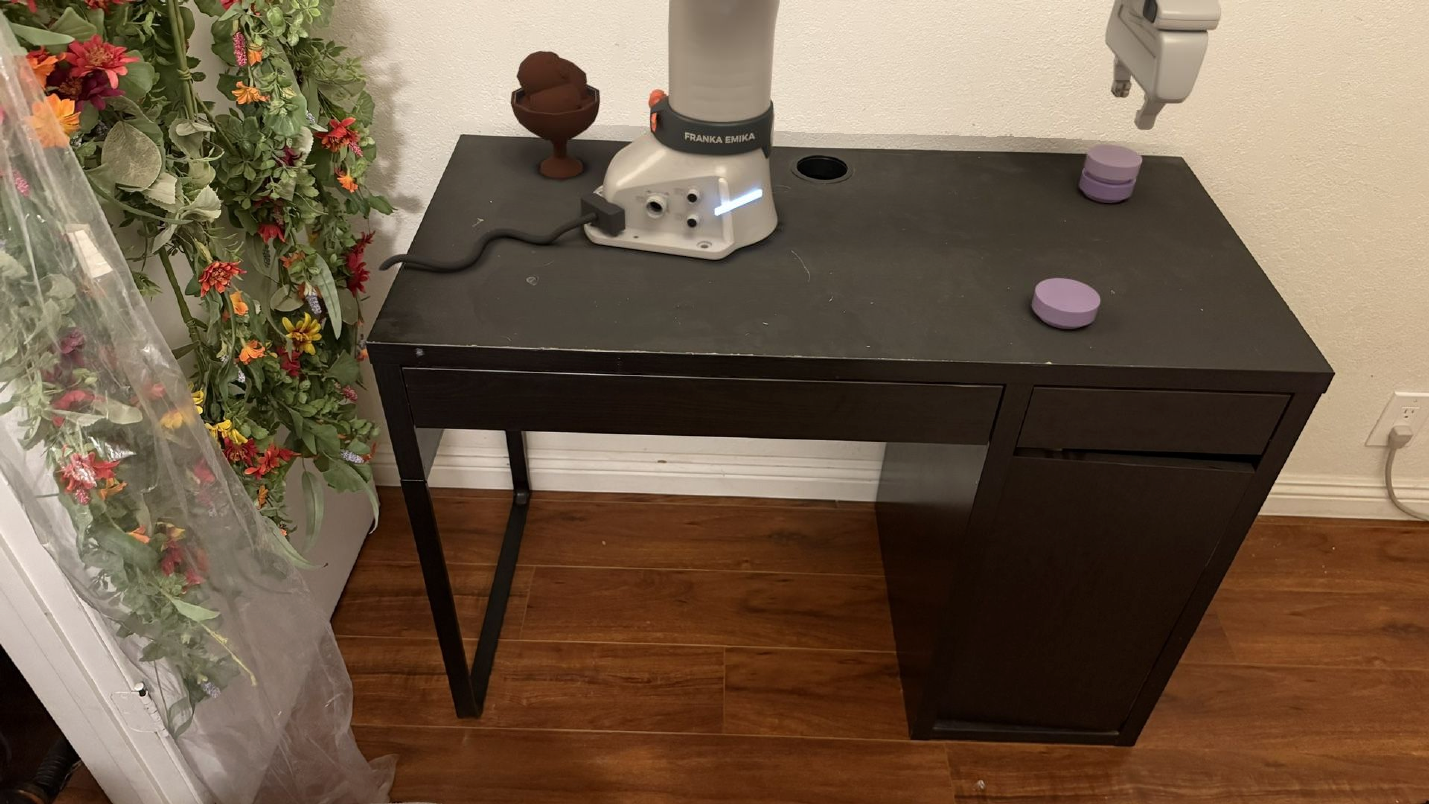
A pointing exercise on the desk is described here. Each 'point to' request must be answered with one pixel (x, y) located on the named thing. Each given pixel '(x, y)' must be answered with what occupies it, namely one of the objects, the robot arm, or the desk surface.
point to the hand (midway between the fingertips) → (1130, 110)
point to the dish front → (1065, 303)
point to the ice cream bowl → (555, 107)
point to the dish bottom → (1105, 189)
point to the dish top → (1112, 163)
